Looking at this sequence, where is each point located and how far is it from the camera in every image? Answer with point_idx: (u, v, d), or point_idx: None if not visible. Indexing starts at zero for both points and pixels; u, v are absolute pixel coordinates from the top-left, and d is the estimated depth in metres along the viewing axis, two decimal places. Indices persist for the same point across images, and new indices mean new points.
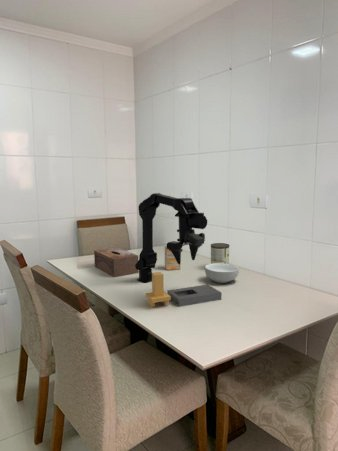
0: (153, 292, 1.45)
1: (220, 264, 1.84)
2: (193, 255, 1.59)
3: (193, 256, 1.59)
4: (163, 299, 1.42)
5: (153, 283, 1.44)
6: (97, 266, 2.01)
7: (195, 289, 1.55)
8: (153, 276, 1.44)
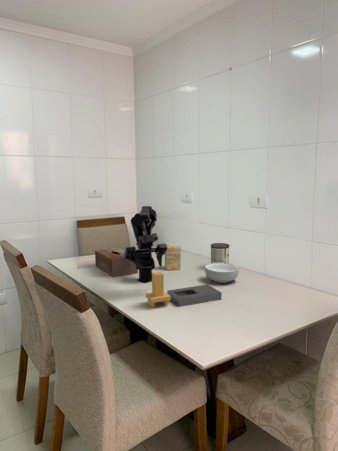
0: (153, 292, 1.45)
1: (220, 264, 1.84)
2: (159, 261, 1.54)
3: (159, 262, 1.54)
4: (163, 299, 1.42)
5: (153, 283, 1.44)
6: (98, 266, 2.02)
7: (195, 289, 1.55)
8: (153, 276, 1.44)
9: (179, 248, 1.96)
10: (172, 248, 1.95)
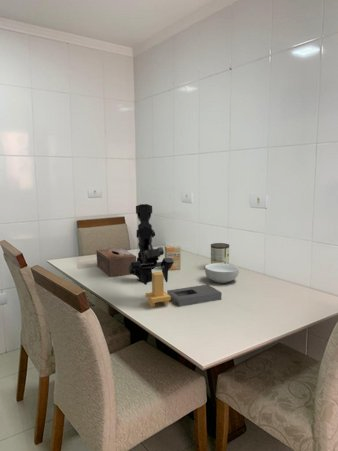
0: (153, 292, 1.45)
1: (220, 264, 1.84)
2: (165, 276, 1.48)
3: (165, 277, 1.48)
4: (163, 299, 1.42)
5: (153, 283, 1.44)
6: (98, 265, 2.03)
7: (195, 289, 1.55)
8: (153, 276, 1.44)
9: (179, 248, 1.96)
10: (172, 248, 1.95)
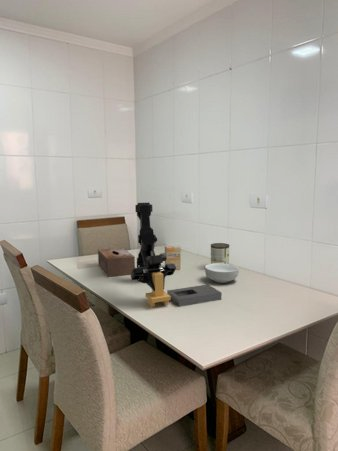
0: (153, 292, 1.45)
1: (220, 264, 1.84)
2: None
3: None
4: (163, 299, 1.42)
5: None
6: (99, 265, 2.04)
7: (195, 289, 1.55)
8: (153, 276, 1.44)
9: (179, 248, 1.96)
10: (172, 248, 1.95)
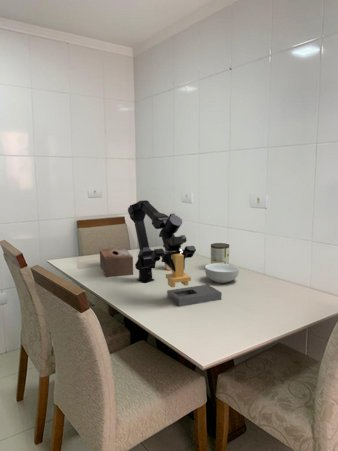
0: (173, 273, 1.47)
1: (220, 264, 1.84)
2: None
3: None
4: (183, 280, 1.45)
5: None
6: (101, 265, 2.04)
7: (195, 289, 1.55)
8: (173, 257, 1.46)
9: (179, 248, 1.96)
10: None
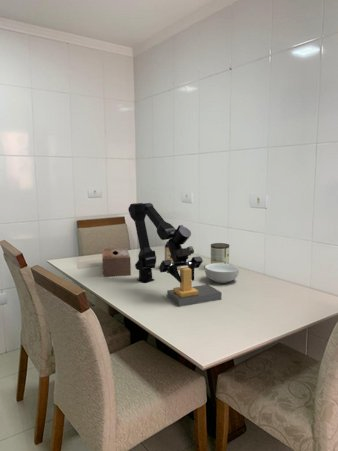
0: (181, 287, 1.50)
1: (220, 264, 1.84)
2: None
3: (192, 276, 1.50)
4: (191, 293, 1.47)
5: (181, 278, 1.49)
6: None
7: None
8: (181, 271, 1.48)
9: None
10: None
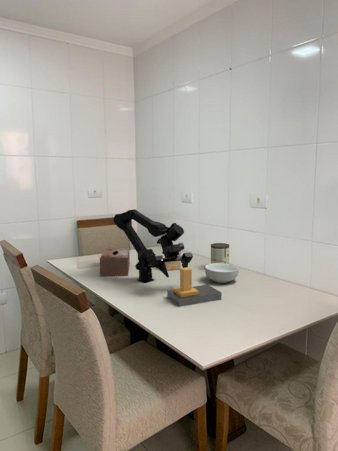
0: (181, 287, 1.50)
1: (220, 264, 1.84)
2: None
3: None
4: (191, 293, 1.47)
5: (181, 278, 1.49)
6: None
7: None
8: (181, 271, 1.48)
9: None
10: None
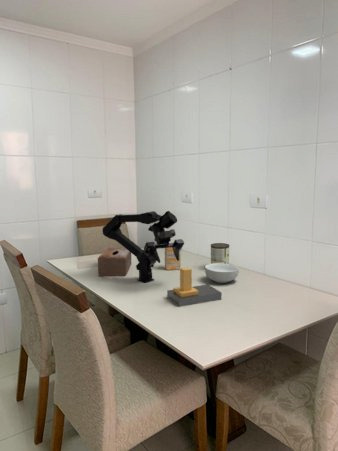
0: (181, 287, 1.50)
1: (220, 264, 1.84)
2: (176, 256, 1.64)
3: (177, 256, 1.64)
4: (191, 293, 1.47)
5: (181, 278, 1.49)
6: None
7: None
8: (181, 271, 1.48)
9: None
10: (172, 248, 1.95)
